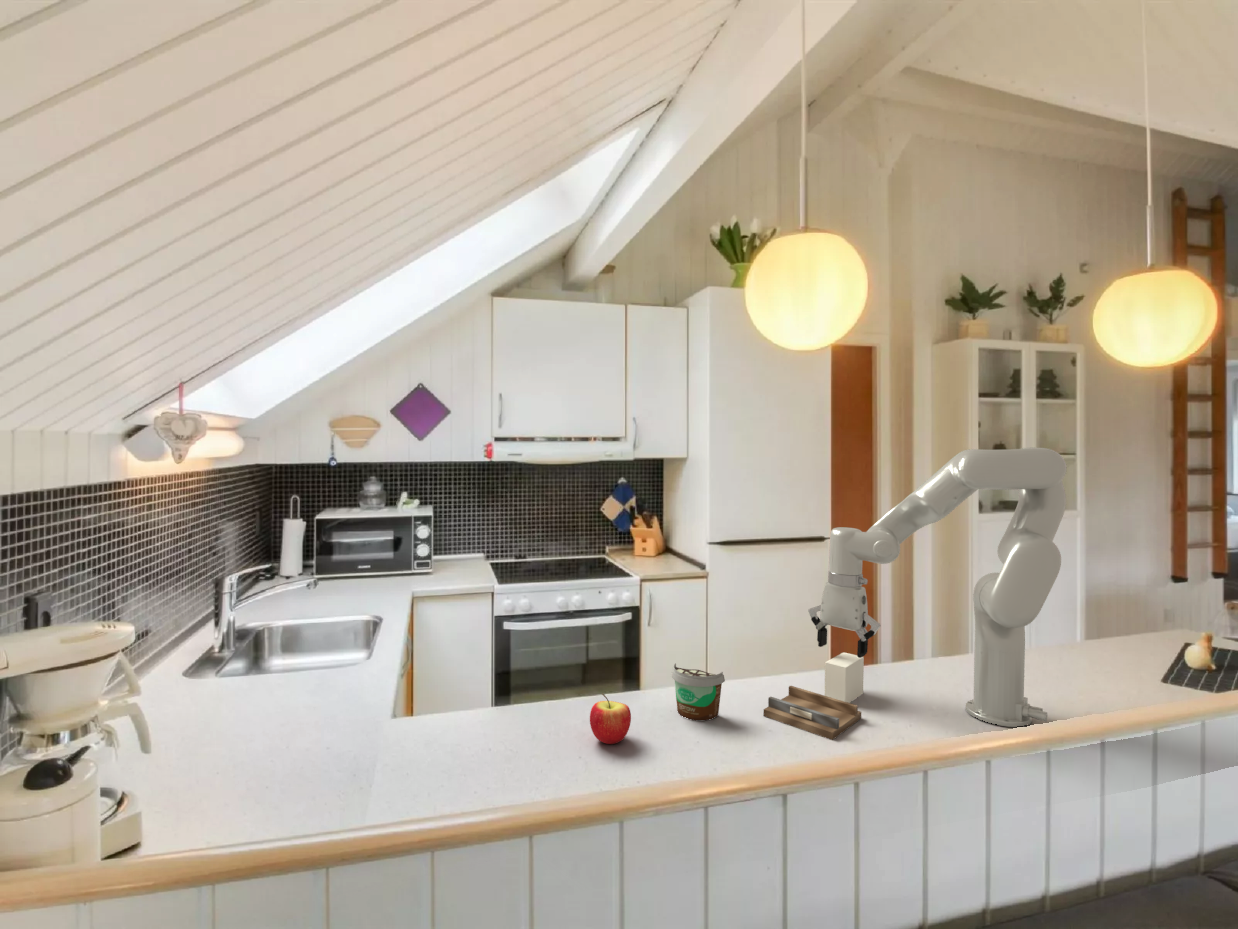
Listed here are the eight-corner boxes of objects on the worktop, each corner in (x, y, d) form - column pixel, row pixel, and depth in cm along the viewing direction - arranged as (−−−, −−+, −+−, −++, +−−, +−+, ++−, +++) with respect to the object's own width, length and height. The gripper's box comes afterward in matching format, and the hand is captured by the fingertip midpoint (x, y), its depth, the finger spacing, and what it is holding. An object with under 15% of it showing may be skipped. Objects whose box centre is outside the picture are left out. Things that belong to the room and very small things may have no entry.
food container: (662, 715, 138) (662, 671, 138) (673, 705, 143) (673, 662, 143) (715, 727, 132) (715, 681, 132) (724, 716, 138) (725, 672, 137)
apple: (584, 735, 129) (584, 687, 128) (622, 728, 132) (622, 682, 131) (596, 753, 121) (596, 702, 121) (637, 746, 124) (637, 696, 124)
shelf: (861, 718, 137) (861, 702, 137) (832, 740, 127) (832, 723, 127) (794, 697, 148) (795, 683, 148) (763, 716, 138) (763, 700, 138)
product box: (863, 693, 151) (863, 657, 150) (845, 706, 143) (845, 667, 143) (842, 688, 154) (842, 652, 154) (823, 699, 147) (824, 662, 147)
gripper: (887, 584, 145) (884, 656, 145) (818, 571, 157) (815, 638, 157) (874, 589, 139) (871, 664, 140) (803, 575, 151) (800, 645, 152)
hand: (841, 650), depth 149 cm, fingers open, 9 cm apart
